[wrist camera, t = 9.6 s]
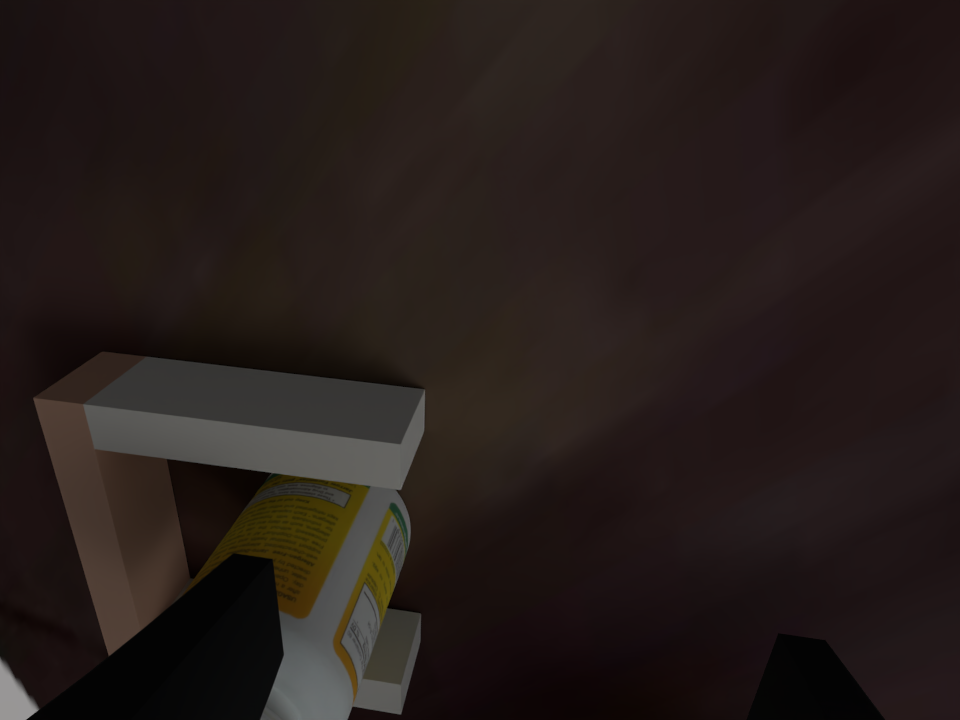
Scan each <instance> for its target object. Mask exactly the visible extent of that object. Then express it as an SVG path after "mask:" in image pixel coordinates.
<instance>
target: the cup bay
mask: <svg viewBox="0 0 960 720" xmlns="http://www.w3.org/2000/svg"><path fill="white" fill-rule="evenodd" d="M33 399H34V403H35V406H36V409H37V413H38V416H39V420H40V423H41V426H42V430H43V433H44V437H45V440H46V443H47V447H48V450H49V454H50V457H51V461H52V464H53V467H54V471H55V474H56V478H57V481H58V484H59V488H60V491H61V495H62V498H63V501H64V505H65V508H66V512H67V515H68V518H69V522H70V525H71V529H72V532H73V535H74V539H75V542H76V546H77V549H78V552H79V556H80V559H81V563H82V566H83V569H84V573H85V576H86V580H87V583H88V586H89V590H90V593H91V597H92V600H93V604H94V607H95V610H96V614H97V617H98V621H99V624H100V627H101V631H102V634H103V638H104V641H105V644H106V648H107V651H108V655H109V656H110V655H111V654H112V653H114V652H115V651H116V650H117V649H118V648H120V647H121V646H122V645H123V644H125V643H126V642H127V641H128V640H130V639H131V638H132V637H133V636H135V635H136V634H137V633H138V632H139V631H141V630H142V629H143V628H144V627H146V626H147V625H148V624H149V623H150V622H152V621H153V620H154V619H155V618H156V617H158V616H159V615H160V614H161V613H162V612H164V611H165V610H166V609H167V608H168V607H169V606H171V605H172V604H173V603H174V602H175V601H177V600H178V599H179V598H180V597H181V596H182V595H183V593H184V592H185V591H186V589H187V588H188V587H189V585H190V584H191V582H192V581H193V580H194V579H192V578H190V575H189V570H188V564H187V559H186V554H185V549H184V544H183V539H182V534H181V529H180V524H179V519H178V514H177V509H176V504H175V498H174V493H173V488H172V483H171V478H170V473H169V468H168V463H167V459H172V460H180V461H187V462H195V463H202V464H210V465H217V466H225V467H232V468H239V469H247V470H254V471H262V472H269V473H277V474H284V475H292V476H299V477H307V478H314V479H322V480H329V481H337V482H344V483H352V484H359V485H367V486H374V487H382V488H389V489H397V490H401V488H402V486H403V483H404V481H405V478H406V475H407V473H408V470H409V468H410V465H411V463H412V460H413V458H414V455H415V453H416V450H417V448H418V445H419V443H420V440H421V438H422V435H423V433H424V416H425V389H418V388H409V387H401V386H392V385H384V384H375V383H367V382H358V381H350V380H341V379H333V378H324V377H316V376H307V375H299V374H290V373H282V372H273V371H265V370H256V369H248V368H239V367H231V366H222V365H214V364H205V363H197V362H188V361H180V360H171V359H163V358H154V357H146V356H137V355H129V354H120V353H112V352H103V351H102V352H101V353H99V354H98V355H96V356H95V357H93V358H92V359H90V360H89V361H87V362H86V363H84V364H83V365H81V366H80V367H78V368H77V369H76V370H74V371H73V372H71V373H70V374H68V375H67V376H65V377H64V378H62V379H61V380H59V381H58V382H56V383H55V384H53V385H52V386H50V387H49V388H47V389H46V390H44V391H43V392H41V393H40V394H38V395H37V396H35V397H34V398H33ZM420 638H421V613H415V612H408V611H402V610H395V609H389V608H387V610H386V613H385V616H384V619H383V621H382V624H381V627H380V630H379V633H378V636H377V639H376V641H375V644H374V647H373V650H372V653H371V656H370V659H369V661H368V664H367V667H366V670H365V673H364V676H363V678H362V681H361V684H360V687H359V690H358V693H357V695H356V698H355V701H354V703H353V706H354V707H360V708H365V709H371V710H377V711H383V712H389V713H395V714H401V713H402V709H403V705H404V701H405V698H406V694H407V690H408V686H409V683H410V679H411V675H412V671H413V668H414V664H415V660H416V656H417V653H418V649H419V645H420Z"/></svg>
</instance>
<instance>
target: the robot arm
mask: <svg viewBox="0 0 960 720" xmlns="http://www.w3.org/2000/svg"><path fill="white" fill-rule="evenodd" d="M283 656H284V650H283V642H282V633H281V625H280V616H279V608H278V599H277V591H276V582H275V574H274V565H273V559H270V558H263V557H256V556H250V555H243V554H236V553H233V554H232V555H231V556H229V557H228V558H227V559H225V560H224V561H223V562H222V563H221V564H219V565H218V566H217V567H216V568H214V569H213V570H212V571H211V572H210V573H208V574H207V575H206V576H205V577H204V578H203V579H201V580H200V581H199V582H198V583H197V584H195V585H194V586H193V587H192V588H191V589H190V590H188V591H187V592H186V593H185V594H184V595H183V596H181V597H180V598H179V599H178V600H177V601H175V602H174V603H173V604H172V605H171V606H169V607H168V608H167V609H166V610H165V611H164V612H162V613H161V614H160V615H159V616H158V617H156V618H155V619H154V620H153V621H152V622H150V623H149V624H148V625H147V626H146V627H144V628H143V629H142V630H141V631H139V632H138V633H137V634H136V635H135V636H133V637H132V638H131V639H130V640H128V641H127V642H126V643H125V644H123V645H122V646H121V647H120V648H118V649H117V650H116V651H115V652H114V653H112V654H111V655H110V656H109V657H107V658H106V659H105V660H104V661H102V662H101V663H100V664H99V665H97V666H96V667H95V668H94V669H92V670H91V671H90V672H89V673H87V674H86V675H85V676H83V677H82V678H81V679H80V680H78V681H77V682H76V683H74V684H73V685H72V686H70V687H69V688H68V689H66V690H65V691H64V692H62V693H61V694H60V695H58V696H57V697H56V698H54V699H53V700H52V701H50V702H49V703H48V704H46V705H45V706H44V707H42V708H41V709H40V710H38V711H37V712H36V713H34V714H33V715H32V716H31V717H29V718H28V719H27V720H260V719H261V716H262V713H263V711H264V708H265V706H266V703H267V700H268V698H269V695H270V693H271V690H272V687H273V684H274V682H275V679H276V676H277V673H278V670H279V668H280V665H281V662H282V659H283ZM747 720H885V719H884V718H883V716H882V715H881V714H880V712H879V711H878V710H877V708H876V707H875V706H874V704H873V703H872V702H871V700H870V699H869V698H868V696H867V695H866V694H865V692H864V691H863V690H862V688H861V687H860V686H859V684H858V683H857V682H856V680H855V679H854V678H853V676H852V675H851V674H850V672H849V671H848V670H847V668H846V667H845V666H844V664H843V663H842V662H841V660H840V659H839V658H838V656H837V655H836V654H835V652H834V651H833V650H832V649H831V647H830V646H829V645H828V643H827V642H826V641H825V640H819V639H813V638H806V637H799V636H792V635H785V634H779V633H778V636H777V639H776V642H775V644H774V647H773V650H772V652H771V655H770V658H769V661H768V663H767V666H766V669H765V671H764V674H763V677H762V680H761V682H760V685H759V688H758V690H757V693H756V696H755V699H754V701H753V704H752V707H751V709H750V712H749V715H748V718H747Z"/></svg>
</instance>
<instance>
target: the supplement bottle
mask: <svg viewBox="0 0 960 720" xmlns="http://www.w3.org/2000/svg"><path fill="white" fill-rule="evenodd" d="M410 534H411V528H410V519H409V515H408V512H407V509H406V506H405V504H404V502H403V500H402V499H401V497H400V495H399V494H398V492H397V491H396V490H395V489H389V488H382V487H374V486H367V485H359V484H352V483H344V482H337V481H329V480H322V479H314V478H307V477H299V476H292V475H284V474H277V473H272V474H271V475H270V476H269V477H268V478H267V479H266V481H265V482H264V483H263V485H262V486H261V487H260V488H259V489H258V491H257V492H256V494H255V495H254V497H253V498H252V500H251V501H250V502H249V504H248V505H247V506H246V507H245V509H244V510H243V512H242V513H241V514H240V516H239V517H238V519H237V520H236V521H235V523H234V524H233V526H232V527H231V528H230V530H229V531H228V532H227V534H226V535H225V537H224V538H223V539H222V541H221V542H220V544H219V545H218V546H217V548H216V549H215V551H214V552H213V553H212V555H211V556H210V557H209V559H208V560H207V562H206V563H205V564H204V566H203V567H202V569H201V570H200V571H199V573H198V574H197V576H196V577H195V578H194V580H193V581H192V582H191V584H190V585H189V587H188V588H187V589H186V591H185V592H184V593H183V595H184V594H185V593H186V592H187V591H188V590H190V589H191V588H192V587H193V586H194V585H195V584H197V583H198V582H199V581H200V580H201V579H203V578H204V577H205V576H206V575H207V574H208V573H210V572H211V571H212V570H213V569H214V568H216V567H217V566H218V565H219V564H221V563H222V562H223V561H224V560H225V559H227V558H228V557H229V556H231V555H232V554H233V553H236V554H243V555H250V556H256V557H263V558H270V559H273V565H274V574H275V582H276V591H277V599H278V608H279V616H280V625H281V633H282V642H283V650H284V656H283V659H282V662H281V665H280V668H279V670H278V673H277V676H276V679H275V682H274V684H273V687H272V690H271V693H270V695H269V698H268V700H267V703H266V706H265V708H264V711H263V713H262V716H261V719H260V720H347V719H348V717H349V714H350V711H351V709H352V706H353V703H354V701H355V698H356V695H357V693H358V690H359V687H360V684H361V681H362V678H363V676H364V673H365V670H366V667H367V664H368V661H369V659H370V656H371V653H372V650H373V647H374V644H375V641H376V639H377V636H378V633H379V630H380V627H381V624H382V621H383V619H384V616H385V613H386V610H387V607H388V604H389V601H390V599H391V596H392V593H393V591H394V588H395V585H396V583H397V580H398V577H399V574H400V571H401V568H402V566H403V563H404V559H405V556H406V553H407V550H408V547H409V543H410ZM183 595H182V596H183Z"/></svg>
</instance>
